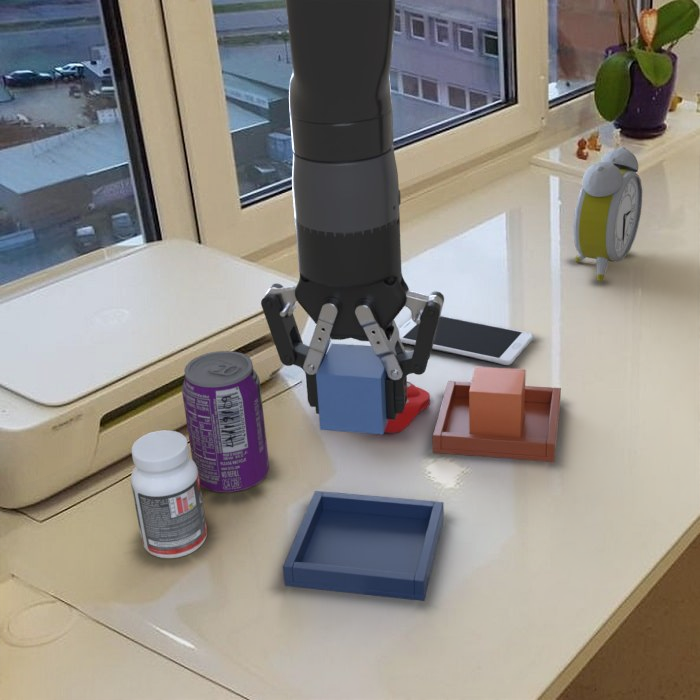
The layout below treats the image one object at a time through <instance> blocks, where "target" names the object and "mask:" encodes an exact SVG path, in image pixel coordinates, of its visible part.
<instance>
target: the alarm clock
mask: <svg viewBox="0 0 700 700" xmlns="http://www.w3.org/2000/svg"><path fill="white" fill-rule="evenodd" d="M638 172H639V162H638V159H637V157H636V155H635V153H633V152H632V151H630V150H629V149H627V148H626V147H625V146H620V147H618V148H617V147H616V148H612V149H610V150H608V151H607V152H605V153H604V154H603V155H602V157H601V159H600V161H598V162H595V163H593V164H591V165H590V166H589V167H588V168H586V170H585V172H584V174H583V176H582V185H581V188H580V191H579V194H578V197H577V200H576V205H575V209H574V218H573V241H574V245H575V249H576V250H577V252H578V253H577V255H576V256H575V257H574V261H575V262H576V263H580V262H581V261H583V260H585V259H586V258H589V259H594V260H596V276H597V281H598V282H604V279H605V276H606V275H605V274H606V272H607V270H608V269H607V268H608V265H609V263H610V262H612V263H613V262H614V263H615V262H617V263H618V262H620V261H622V260H623V259H625V258H626V256H628V254H629V253H630V251H631V249H632V247H633V244H634V241H635V239H636V236H637V233H638V229H639V225H640V220H641V214H642V207H643V186H642V179H641V177H640V176H639V174H638Z"/></svg>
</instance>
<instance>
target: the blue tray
mask: <svg viewBox="0 0 700 700" xmlns="http://www.w3.org/2000/svg"><path fill="white" fill-rule="evenodd" d="M444 507H445V506H444V501H436V500H435V501H434V500H426V499H416V498H415V499H413V498H412V499H411V498H403V497H390V496H379V495H370V494H369V495H368V494H359V493H358V494H356V493H347V492H346V493H344V492H333V491H323V490H322V491H321V490H315V491H314V492H313V494H312V497H311V499H310V502H309V504H308V507H307V509H306V511H305V513H304V516H303V518H302V521H301V523H300V526H299V527H298V531H297V532H296V534H295V538H294V539H293V542H292V544H291V547H290V549H289V551H288V553H287V556H286V558H285V561H284V563H283V565H282V572H283V581H284V586H286V587H295V588H302V589H303V588H305V589H314V590H321V591H322V590H323V591H329V592H330V591H331V592H340V593H347V594H348V593H349V594H359V595H368V596H375V597H376V596H377V597H384V598H385V597H386V598H395V599H405V600H412V601H413V600H414V601H423V602H424V601H426V597H427V596H426V595H427V592H428V589H429V583H430V580H431V575H432V571H433V567H434V563H435V559H436V554H437V550H438V546H439V542H440V537H441V534H442V529H443V526H444V525H443V524H444V521H445V516H444V515H445V514H444V513H445V512H444V509H445V508H444Z"/></svg>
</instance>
